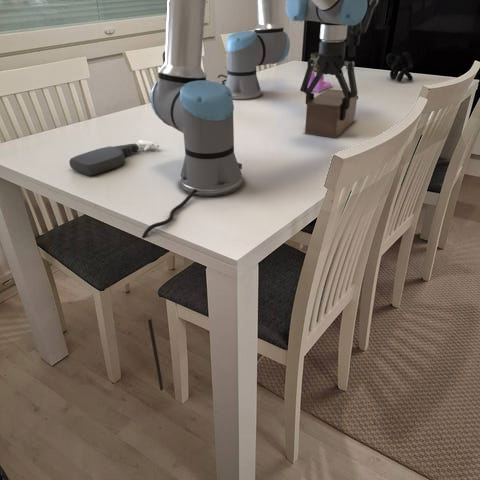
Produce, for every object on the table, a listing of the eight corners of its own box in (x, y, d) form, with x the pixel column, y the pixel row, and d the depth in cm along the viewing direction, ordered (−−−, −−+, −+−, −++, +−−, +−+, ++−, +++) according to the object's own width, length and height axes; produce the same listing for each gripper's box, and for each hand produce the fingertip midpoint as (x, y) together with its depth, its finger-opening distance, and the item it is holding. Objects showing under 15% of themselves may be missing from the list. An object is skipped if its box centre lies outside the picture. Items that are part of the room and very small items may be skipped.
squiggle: (400, 92, 202) (376, 71, 205) (417, 76, 202) (392, 56, 205) (405, 81, 191) (380, 59, 194) (423, 64, 191) (397, 42, 194)
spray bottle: (67, 168, 120) (139, 144, 136) (91, 178, 114) (163, 151, 130) (65, 157, 118) (137, 134, 134) (89, 167, 112) (162, 142, 128)
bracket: (318, 92, 184) (319, 74, 181) (306, 90, 187) (307, 72, 184) (333, 85, 193) (334, 68, 189) (321, 84, 196) (322, 67, 192)
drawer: (335, 108, 161) (337, 86, 157) (359, 111, 157) (362, 88, 153) (312, 126, 144) (313, 102, 140) (338, 130, 140) (341, 105, 136)
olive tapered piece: (307, 71, 218) (308, 54, 214) (312, 68, 224) (313, 51, 220) (322, 73, 215) (323, 55, 211) (326, 70, 221) (328, 52, 217)
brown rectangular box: (325, 117, 155) (327, 88, 150) (353, 121, 151) (357, 91, 146) (305, 133, 141) (306, 102, 136) (335, 138, 137) (338, 106, 132)
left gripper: (375, 40, 126) (365, 118, 138) (301, 36, 136) (297, 109, 147) (368, 44, 121) (358, 125, 132) (291, 39, 130) (288, 115, 142)
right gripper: (384, -28, 135) (374, 55, 148) (343, -27, 141) (336, 53, 153) (378, -27, 130) (368, 59, 142) (335, -26, 135) (328, 56, 148)
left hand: (326, 117), depth 140 cm, fingers closed on brown rectangular box, 10 cm apart
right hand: (351, 56), depth 148 cm, fingers closed
